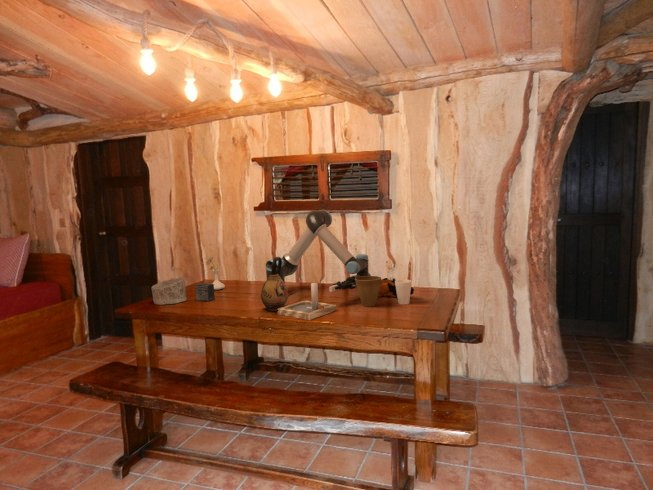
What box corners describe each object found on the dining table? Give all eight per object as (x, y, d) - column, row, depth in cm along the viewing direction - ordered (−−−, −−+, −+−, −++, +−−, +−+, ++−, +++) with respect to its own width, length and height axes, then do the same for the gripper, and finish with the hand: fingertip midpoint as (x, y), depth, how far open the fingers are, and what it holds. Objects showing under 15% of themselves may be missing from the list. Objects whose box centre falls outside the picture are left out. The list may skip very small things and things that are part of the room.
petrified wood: (148, 304, 279) (146, 281, 278) (167, 298, 295) (165, 276, 294) (173, 306, 273) (171, 282, 271) (191, 299, 289) (189, 276, 287)
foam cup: (413, 301, 262) (412, 279, 260) (410, 305, 253) (410, 282, 252) (396, 300, 265) (396, 279, 263) (394, 304, 256) (393, 282, 255)
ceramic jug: (277, 313, 246) (274, 259, 243) (256, 310, 254) (253, 258, 251) (295, 306, 260) (293, 255, 257) (274, 304, 268) (272, 254, 265)
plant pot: (383, 302, 263) (382, 275, 261) (380, 308, 248) (379, 280, 247) (357, 301, 266) (357, 275, 264) (353, 308, 252) (352, 280, 250)
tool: (402, 312, 267) (411, 290, 262) (372, 294, 279) (379, 272, 273) (409, 308, 273) (417, 287, 268) (378, 291, 285) (385, 270, 280)
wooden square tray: (277, 314, 245) (277, 305, 244) (305, 305, 263) (304, 296, 262) (309, 320, 231) (309, 310, 230) (336, 310, 249) (336, 301, 248)
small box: (215, 299, 287) (214, 283, 286) (208, 301, 281) (207, 285, 280) (202, 298, 291) (201, 282, 290) (195, 300, 285) (194, 284, 284)
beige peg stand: (286, 313, 244) (285, 284, 243) (304, 306, 258) (302, 279, 256) (310, 316, 236) (309, 286, 234) (327, 309, 249) (326, 281, 247)
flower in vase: (217, 287, 327) (215, 253, 324) (228, 288, 320) (226, 254, 318) (203, 290, 317) (201, 255, 314) (214, 292, 310) (211, 256, 307)
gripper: (362, 289, 268) (339, 297, 250) (345, 287, 276) (321, 294, 258) (362, 277, 267) (339, 283, 249) (344, 275, 275) (321, 281, 257)
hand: (330, 289), depth 253 cm, fingers closed
